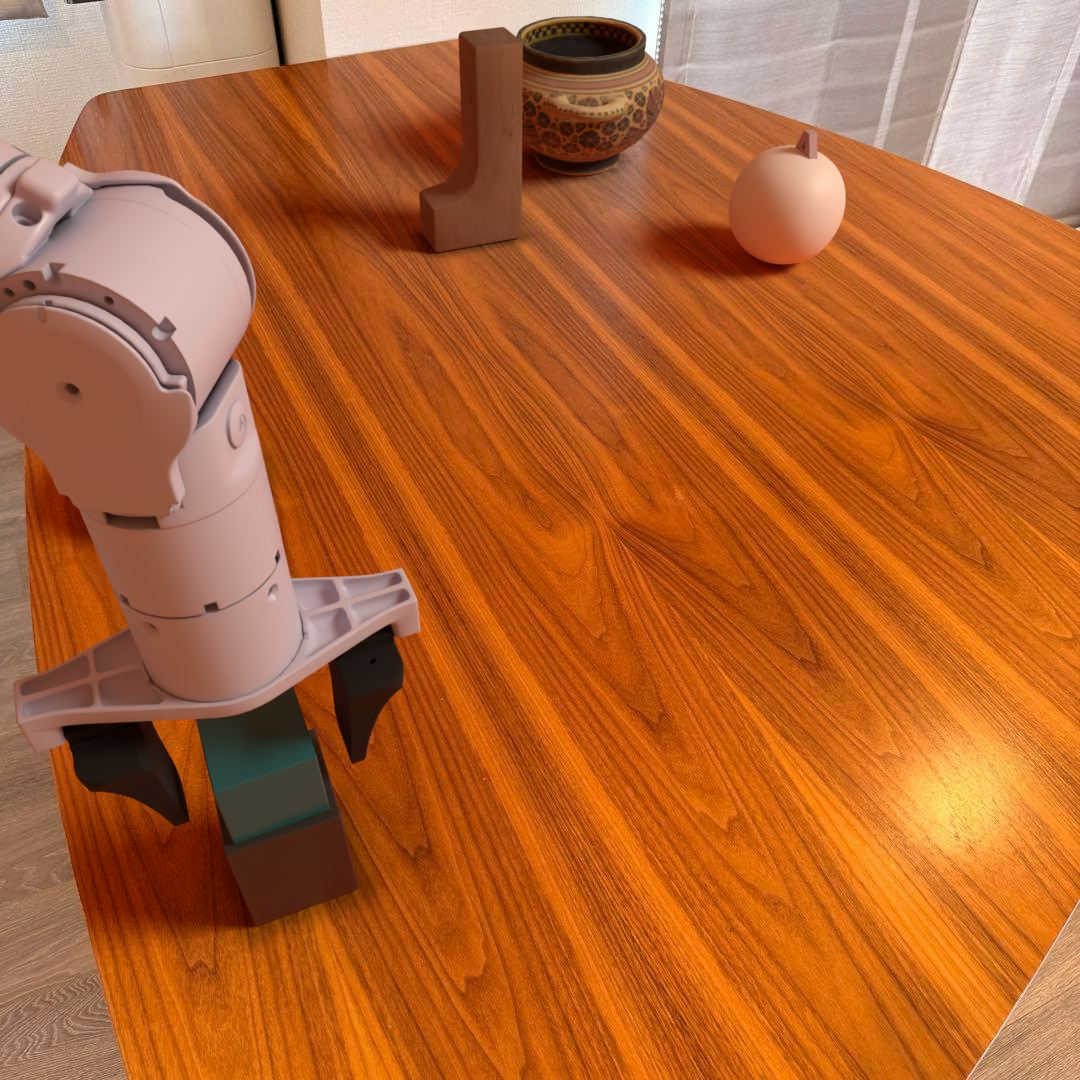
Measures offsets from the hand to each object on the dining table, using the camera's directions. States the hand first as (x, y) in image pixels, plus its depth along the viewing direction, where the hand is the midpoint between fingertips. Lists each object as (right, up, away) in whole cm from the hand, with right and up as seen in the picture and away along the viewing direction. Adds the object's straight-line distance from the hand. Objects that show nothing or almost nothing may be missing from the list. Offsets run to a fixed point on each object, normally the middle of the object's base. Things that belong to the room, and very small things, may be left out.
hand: (267, 773), depth 43 cm
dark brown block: (0, -6, +6) cm, 8 cm away
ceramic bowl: (+16, +53, +66) cm, 86 cm away
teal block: (0, -1, +1) cm, 1 cm away
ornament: (+35, +37, +51) cm, 72 cm away
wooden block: (+5, +40, +53) cm, 66 cm away
